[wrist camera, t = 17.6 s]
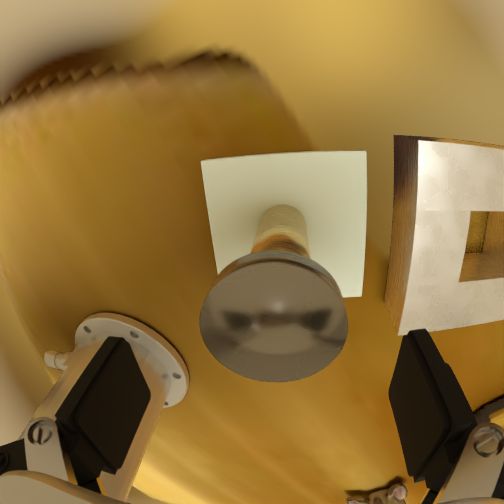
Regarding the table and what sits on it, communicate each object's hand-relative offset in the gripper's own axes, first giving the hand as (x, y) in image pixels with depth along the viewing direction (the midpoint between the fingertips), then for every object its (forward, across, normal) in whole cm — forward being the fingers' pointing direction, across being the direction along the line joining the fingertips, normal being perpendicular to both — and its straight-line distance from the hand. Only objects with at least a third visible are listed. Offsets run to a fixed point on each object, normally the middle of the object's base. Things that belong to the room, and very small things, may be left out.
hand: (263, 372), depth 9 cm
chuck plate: (+11, -14, -1) cm, 18 cm away
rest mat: (+12, -1, -1) cm, 12 cm away
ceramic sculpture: (+13, -17, +50) cm, 55 cm away
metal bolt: (+11, -1, -1) cm, 11 cm away
